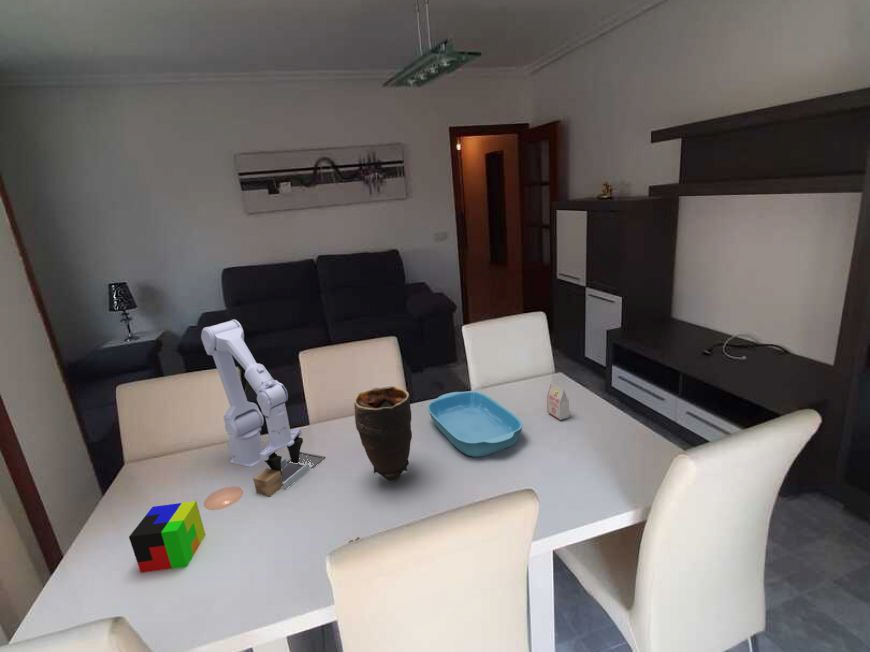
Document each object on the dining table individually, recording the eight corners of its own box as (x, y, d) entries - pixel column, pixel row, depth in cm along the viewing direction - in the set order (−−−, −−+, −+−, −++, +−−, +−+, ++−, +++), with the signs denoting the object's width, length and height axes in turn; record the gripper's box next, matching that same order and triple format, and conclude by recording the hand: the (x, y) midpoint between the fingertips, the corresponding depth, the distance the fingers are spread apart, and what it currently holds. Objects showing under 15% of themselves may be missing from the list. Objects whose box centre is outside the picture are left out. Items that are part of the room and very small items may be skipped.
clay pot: (366, 501, 118) (353, 413, 111) (362, 469, 132) (350, 389, 125) (423, 489, 120) (413, 402, 114) (413, 458, 135) (404, 380, 128)
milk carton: (556, 409, 157) (555, 382, 154) (569, 417, 151) (568, 389, 148) (547, 411, 156) (546, 384, 153) (559, 419, 150) (559, 391, 147)
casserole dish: (537, 449, 135) (536, 427, 133) (470, 472, 126) (468, 449, 124) (476, 403, 167) (475, 385, 165) (419, 419, 159) (417, 400, 157)
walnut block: (256, 494, 125) (253, 478, 124) (270, 483, 129) (266, 468, 128) (270, 497, 123) (266, 481, 122) (283, 486, 127) (280, 471, 126)
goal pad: (195, 506, 122) (195, 505, 122) (225, 484, 131) (225, 483, 131) (221, 514, 118) (221, 513, 118) (251, 491, 127) (251, 490, 126)
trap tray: (286, 463, 139) (286, 462, 138) (300, 453, 144) (299, 451, 144) (312, 469, 134) (312, 467, 134) (325, 458, 140) (325, 456, 139)
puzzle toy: (163, 542, 110) (152, 506, 107) (205, 536, 111) (196, 501, 108) (141, 574, 100) (128, 536, 98) (187, 568, 101) (176, 530, 98)
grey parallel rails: (260, 485, 129) (258, 477, 128) (285, 465, 138) (283, 458, 137) (285, 491, 125) (284, 483, 124) (309, 471, 134) (308, 463, 133)
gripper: (270, 441, 120) (279, 486, 124) (306, 416, 133) (314, 457, 136) (250, 437, 123) (260, 481, 127) (287, 413, 136) (295, 454, 139)
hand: (287, 469), depth 132 cm, fingers open, 6 cm apart
